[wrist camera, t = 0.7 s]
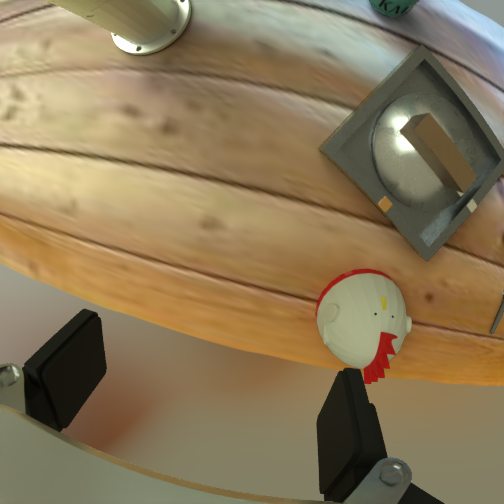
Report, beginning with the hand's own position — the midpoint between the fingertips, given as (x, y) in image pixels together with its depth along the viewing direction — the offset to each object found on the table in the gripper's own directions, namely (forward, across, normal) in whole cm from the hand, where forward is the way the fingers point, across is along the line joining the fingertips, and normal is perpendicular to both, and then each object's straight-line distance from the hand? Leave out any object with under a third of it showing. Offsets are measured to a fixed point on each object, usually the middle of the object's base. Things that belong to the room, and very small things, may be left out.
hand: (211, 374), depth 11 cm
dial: (+30, -20, -13) cm, 38 cm away
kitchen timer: (+33, -17, +12) cm, 40 cm away
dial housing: (+33, -20, -13) cm, 40 cm away
